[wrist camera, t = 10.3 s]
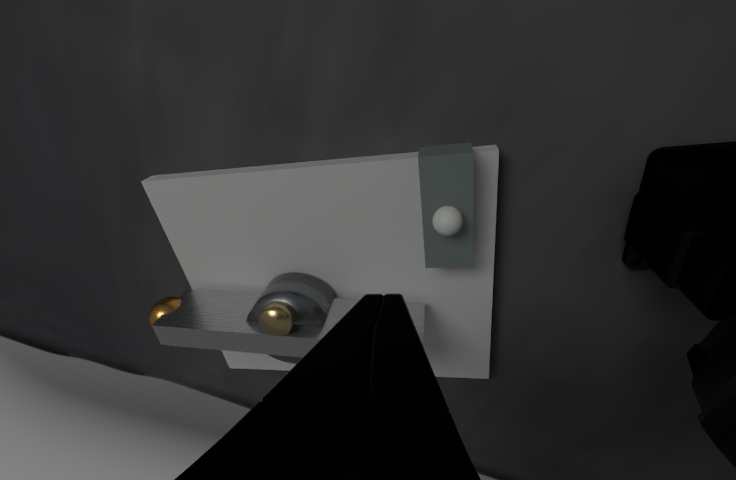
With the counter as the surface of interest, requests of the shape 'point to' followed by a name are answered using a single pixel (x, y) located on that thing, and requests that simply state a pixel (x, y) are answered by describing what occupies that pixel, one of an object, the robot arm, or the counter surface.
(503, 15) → the counter surface
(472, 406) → the counter surface
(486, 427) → the counter surface
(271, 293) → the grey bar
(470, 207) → the white mechanism board
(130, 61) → the counter surface
